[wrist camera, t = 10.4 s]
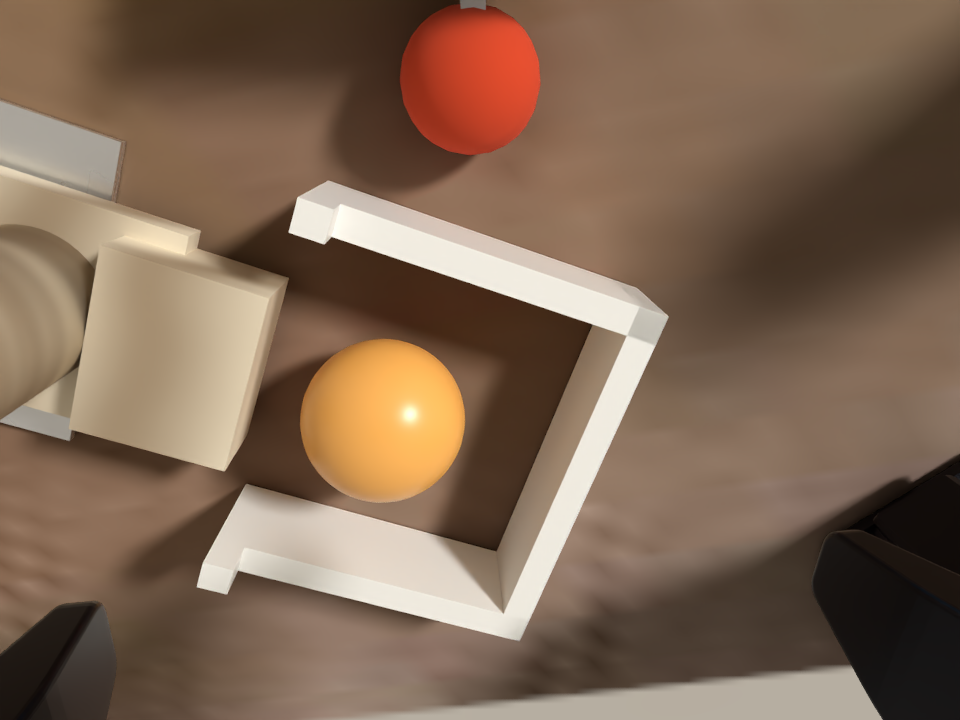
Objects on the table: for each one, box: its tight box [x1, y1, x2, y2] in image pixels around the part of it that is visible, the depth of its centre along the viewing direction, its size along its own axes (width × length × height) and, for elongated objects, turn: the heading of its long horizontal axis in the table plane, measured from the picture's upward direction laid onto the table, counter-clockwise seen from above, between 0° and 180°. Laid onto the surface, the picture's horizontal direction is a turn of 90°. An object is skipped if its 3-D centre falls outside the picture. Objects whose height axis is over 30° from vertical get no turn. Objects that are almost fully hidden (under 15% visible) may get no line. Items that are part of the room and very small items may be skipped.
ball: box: [300, 339, 465, 503], centre depth 18 cm, size 4×4×4 cm
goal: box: [197, 180, 669, 641], centre depth 19 cm, size 9×11×4 cm
